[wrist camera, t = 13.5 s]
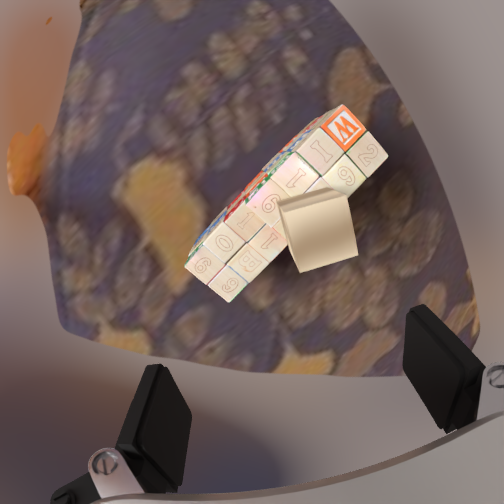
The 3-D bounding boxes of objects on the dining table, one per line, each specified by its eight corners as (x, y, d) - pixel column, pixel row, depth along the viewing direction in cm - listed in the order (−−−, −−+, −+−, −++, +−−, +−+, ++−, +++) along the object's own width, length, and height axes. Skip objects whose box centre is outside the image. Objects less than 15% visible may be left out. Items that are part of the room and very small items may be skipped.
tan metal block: (275, 201, 24) (284, 212, 20) (326, 187, 24) (346, 195, 19) (289, 250, 26) (300, 272, 21) (338, 236, 25) (358, 255, 21)
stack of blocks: (231, 270, 39) (226, 319, 28) (195, 239, 38) (175, 277, 26) (346, 154, 35) (391, 156, 23) (312, 118, 33) (344, 102, 22)
